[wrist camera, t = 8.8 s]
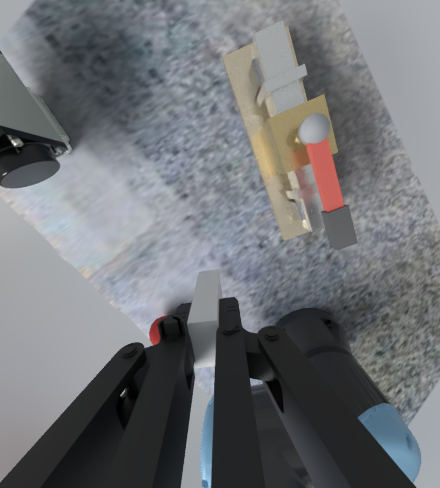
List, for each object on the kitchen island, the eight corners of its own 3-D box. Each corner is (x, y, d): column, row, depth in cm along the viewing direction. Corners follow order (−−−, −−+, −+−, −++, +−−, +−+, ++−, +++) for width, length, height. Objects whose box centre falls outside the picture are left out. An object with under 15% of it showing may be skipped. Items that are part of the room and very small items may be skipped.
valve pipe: (334, 219, 40) (377, 232, 29) (281, 239, 41) (304, 258, 30) (284, 32, 32) (317, -44, 21) (222, 62, 33) (223, 4, 22)
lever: (294, 124, 25) (299, 119, 23) (319, 113, 25) (326, 107, 23) (328, 246, 29) (335, 250, 27) (350, 238, 29) (359, 242, 27)
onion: (182, 307, 44) (174, 333, 37) (184, 331, 46) (177, 361, 38) (153, 308, 45) (140, 334, 37) (157, 332, 46) (145, 362, 38)
